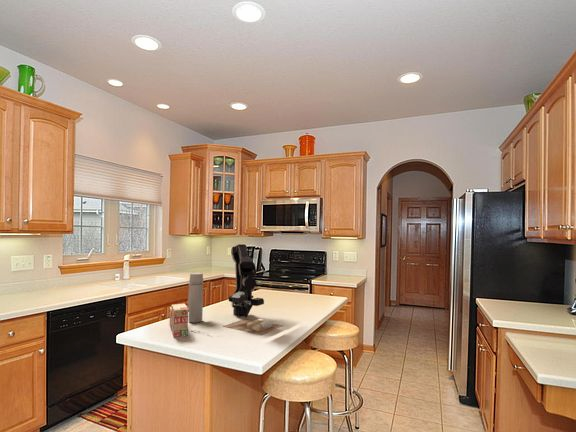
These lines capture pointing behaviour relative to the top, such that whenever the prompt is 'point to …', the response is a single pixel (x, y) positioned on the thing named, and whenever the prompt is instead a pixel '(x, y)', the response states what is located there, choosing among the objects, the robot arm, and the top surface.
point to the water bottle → (195, 297)
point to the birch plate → (255, 324)
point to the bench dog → (266, 325)
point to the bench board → (242, 326)
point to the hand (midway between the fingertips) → (245, 317)
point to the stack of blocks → (179, 320)
